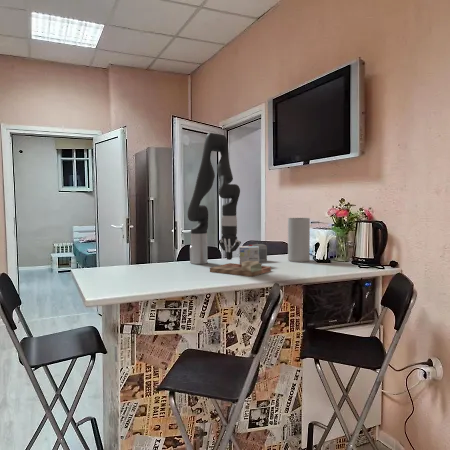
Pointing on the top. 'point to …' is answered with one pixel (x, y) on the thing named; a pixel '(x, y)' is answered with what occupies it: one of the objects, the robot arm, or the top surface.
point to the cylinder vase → (299, 239)
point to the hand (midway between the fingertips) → (229, 259)
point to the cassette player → (262, 252)
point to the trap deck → (240, 269)
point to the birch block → (248, 265)
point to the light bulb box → (249, 253)
